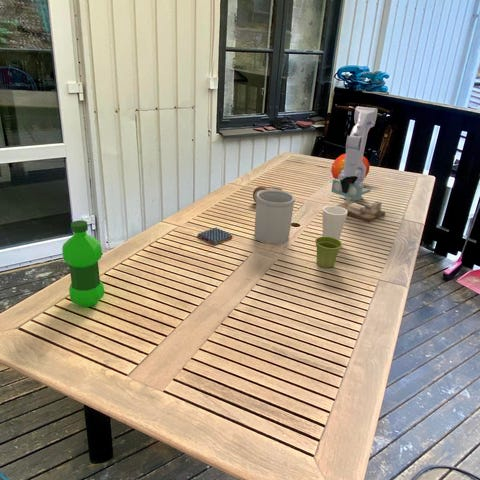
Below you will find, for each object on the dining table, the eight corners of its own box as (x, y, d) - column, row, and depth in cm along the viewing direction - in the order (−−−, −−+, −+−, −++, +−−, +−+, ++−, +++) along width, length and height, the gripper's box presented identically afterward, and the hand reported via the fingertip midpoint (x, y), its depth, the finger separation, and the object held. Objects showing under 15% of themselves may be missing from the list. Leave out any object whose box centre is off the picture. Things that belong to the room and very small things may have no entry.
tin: (284, 204, 209) (285, 187, 205) (284, 207, 206) (285, 189, 202) (252, 202, 210) (253, 185, 206) (251, 204, 207) (253, 187, 203)
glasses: (343, 187, 212) (345, 175, 210) (369, 195, 203) (371, 183, 201) (331, 192, 205) (333, 179, 203) (357, 200, 197) (359, 187, 194)
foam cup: (345, 238, 178) (350, 208, 172) (339, 247, 170) (344, 216, 164) (322, 233, 181) (326, 204, 175) (315, 242, 173) (319, 211, 168)
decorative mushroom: (334, 174, 257) (337, 149, 250) (369, 181, 249) (374, 155, 242) (325, 181, 245) (329, 154, 239) (363, 188, 237) (368, 161, 230)
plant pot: (340, 260, 160) (343, 239, 156) (336, 272, 152) (340, 250, 148) (314, 255, 163) (317, 234, 159) (309, 267, 155) (312, 245, 151)
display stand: (349, 203, 215) (351, 191, 212) (384, 215, 203) (387, 202, 201) (332, 209, 206) (334, 197, 203) (369, 222, 194) (371, 210, 192)
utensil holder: (298, 237, 176) (303, 196, 168) (274, 249, 166) (278, 205, 158) (269, 226, 185) (273, 186, 177) (245, 236, 175) (248, 194, 167)
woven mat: (195, 238, 172) (195, 233, 171) (215, 230, 179) (215, 226, 178) (213, 247, 166) (213, 242, 165) (233, 239, 173) (233, 234, 172)
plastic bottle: (86, 316, 122) (77, 235, 112) (61, 303, 127) (50, 224, 116) (113, 300, 130) (107, 222, 119) (89, 288, 135) (80, 213, 124)
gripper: (352, 158, 202) (347, 186, 208) (334, 163, 193) (329, 192, 199) (365, 161, 198) (360, 190, 204) (347, 167, 188) (343, 197, 194)
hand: (346, 192), depth 201 cm, fingers closed on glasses, 2 cm apart
